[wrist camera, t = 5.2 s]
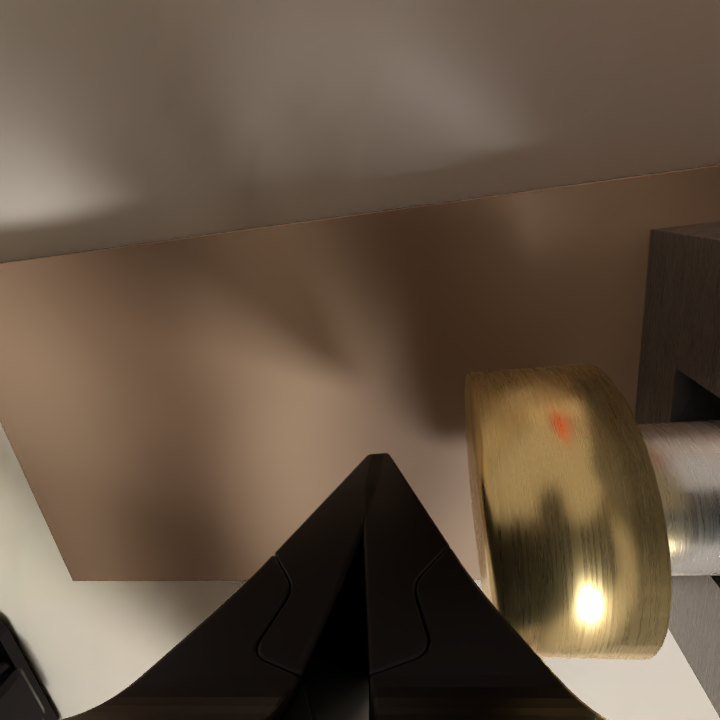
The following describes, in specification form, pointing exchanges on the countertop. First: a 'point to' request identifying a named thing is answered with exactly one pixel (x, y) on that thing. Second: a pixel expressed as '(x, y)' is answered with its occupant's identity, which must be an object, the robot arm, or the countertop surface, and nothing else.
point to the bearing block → (685, 400)
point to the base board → (306, 362)
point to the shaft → (586, 509)
